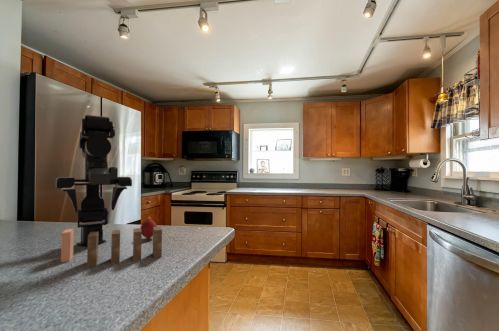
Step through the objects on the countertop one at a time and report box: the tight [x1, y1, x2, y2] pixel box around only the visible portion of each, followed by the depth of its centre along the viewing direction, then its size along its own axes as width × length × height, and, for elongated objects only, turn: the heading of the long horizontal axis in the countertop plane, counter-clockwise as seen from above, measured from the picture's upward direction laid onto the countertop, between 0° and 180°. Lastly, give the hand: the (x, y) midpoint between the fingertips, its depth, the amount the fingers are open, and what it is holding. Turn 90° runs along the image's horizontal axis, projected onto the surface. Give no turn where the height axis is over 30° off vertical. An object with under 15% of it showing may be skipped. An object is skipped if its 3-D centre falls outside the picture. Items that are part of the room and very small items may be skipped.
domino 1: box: [86, 232, 99, 268], centre depth 70 cm, size 2×5×8 cm, turn 26°
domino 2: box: [110, 229, 121, 265], centre depth 72 cm, size 2×5×8 cm, turn 26°
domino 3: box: [132, 227, 143, 262], centre depth 74 cm, size 2×5×8 cm, turn 26°
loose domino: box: [60, 228, 75, 263], centre depth 73 cm, size 2×5×8 cm, turn 26°
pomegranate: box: [140, 216, 158, 240], centre depth 95 cm, size 6×6×8 cm
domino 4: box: [152, 226, 163, 259], centre depth 77 cm, size 2×5×8 cm, turn 26°
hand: (95, 211), depth 75 cm, fingers open, 9 cm apart
